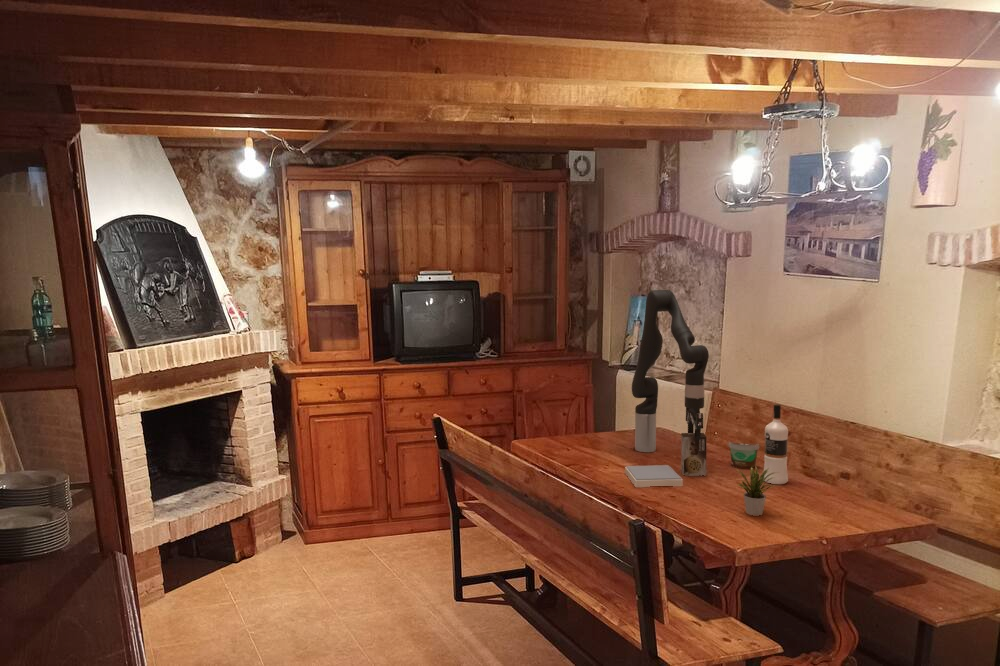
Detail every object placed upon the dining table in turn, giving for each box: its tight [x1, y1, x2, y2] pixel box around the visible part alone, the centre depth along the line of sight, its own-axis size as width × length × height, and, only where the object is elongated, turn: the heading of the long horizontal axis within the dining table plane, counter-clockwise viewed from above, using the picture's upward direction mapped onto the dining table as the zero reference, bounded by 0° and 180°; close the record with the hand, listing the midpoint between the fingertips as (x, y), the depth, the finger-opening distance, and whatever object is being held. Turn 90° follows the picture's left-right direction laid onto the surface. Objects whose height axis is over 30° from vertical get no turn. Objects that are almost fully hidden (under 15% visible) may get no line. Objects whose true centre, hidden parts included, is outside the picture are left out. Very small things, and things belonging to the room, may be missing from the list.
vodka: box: [762, 404, 789, 485], centre depth 267 cm, size 9×9×30 cm
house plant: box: [735, 465, 777, 517], centre depth 233 cm, size 14×14×16 cm
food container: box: [727, 441, 761, 470], centre depth 287 cm, size 12×6×10 cm, turn 68°
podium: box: [624, 464, 684, 488], centre depth 273 cm, size 18×18×3 cm
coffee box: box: [680, 432, 707, 477], centre depth 279 cm, size 9×6×16 cm
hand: (694, 435), depth 278 cm, fingers open, 8 cm apart
